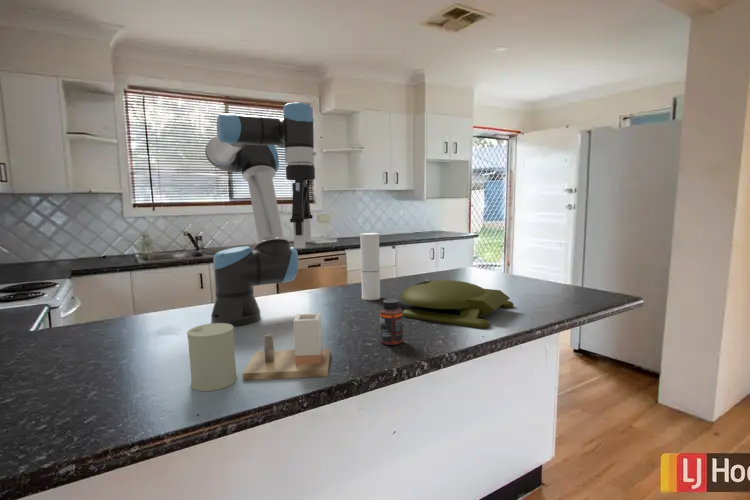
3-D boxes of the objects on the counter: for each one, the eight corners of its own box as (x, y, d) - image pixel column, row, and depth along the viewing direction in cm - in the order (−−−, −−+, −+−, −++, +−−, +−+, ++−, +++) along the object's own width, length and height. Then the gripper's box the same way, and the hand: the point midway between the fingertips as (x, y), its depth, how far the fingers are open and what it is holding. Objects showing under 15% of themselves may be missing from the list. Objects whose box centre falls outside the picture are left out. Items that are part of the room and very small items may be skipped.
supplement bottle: (405, 339, 112) (405, 298, 111) (399, 346, 106) (398, 304, 105) (384, 337, 114) (383, 297, 113) (377, 344, 108) (376, 302, 107)
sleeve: (295, 364, 93) (293, 321, 91) (298, 355, 98) (296, 314, 97) (320, 363, 93) (318, 320, 92) (322, 354, 98) (320, 313, 97)
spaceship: (515, 307, 144) (515, 279, 143) (487, 331, 118) (487, 298, 117) (424, 296, 163) (424, 271, 162) (383, 315, 137) (382, 286, 136)
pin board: (243, 380, 88) (240, 346, 88) (256, 357, 101) (254, 327, 100) (327, 376, 89) (326, 342, 89) (330, 354, 102) (329, 324, 101)
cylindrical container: (381, 295, 164) (379, 232, 161) (379, 300, 157) (378, 234, 154) (363, 295, 164) (361, 233, 162) (360, 300, 157) (359, 234, 154)
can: (199, 373, 92) (195, 321, 91) (241, 371, 93) (238, 319, 92) (184, 392, 83) (179, 335, 82) (230, 390, 84) (227, 332, 83)
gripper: (309, 161, 97) (312, 250, 100) (318, 167, 122) (320, 239, 124) (277, 161, 97) (281, 251, 99) (292, 168, 121) (295, 239, 124)
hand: (303, 244), depth 112 cm, fingers open, 13 cm apart
